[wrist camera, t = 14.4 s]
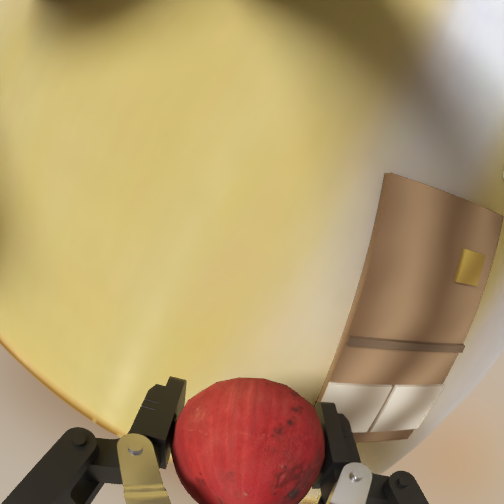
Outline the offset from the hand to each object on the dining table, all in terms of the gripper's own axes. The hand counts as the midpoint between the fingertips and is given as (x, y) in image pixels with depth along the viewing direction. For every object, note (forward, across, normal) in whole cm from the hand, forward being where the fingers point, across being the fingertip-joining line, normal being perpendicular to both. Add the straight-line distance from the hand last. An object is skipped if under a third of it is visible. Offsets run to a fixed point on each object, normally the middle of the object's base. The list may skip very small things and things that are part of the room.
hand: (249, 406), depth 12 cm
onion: (+1, 0, 0) cm, 1 cm away
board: (+8, -12, -1) cm, 14 cm away
